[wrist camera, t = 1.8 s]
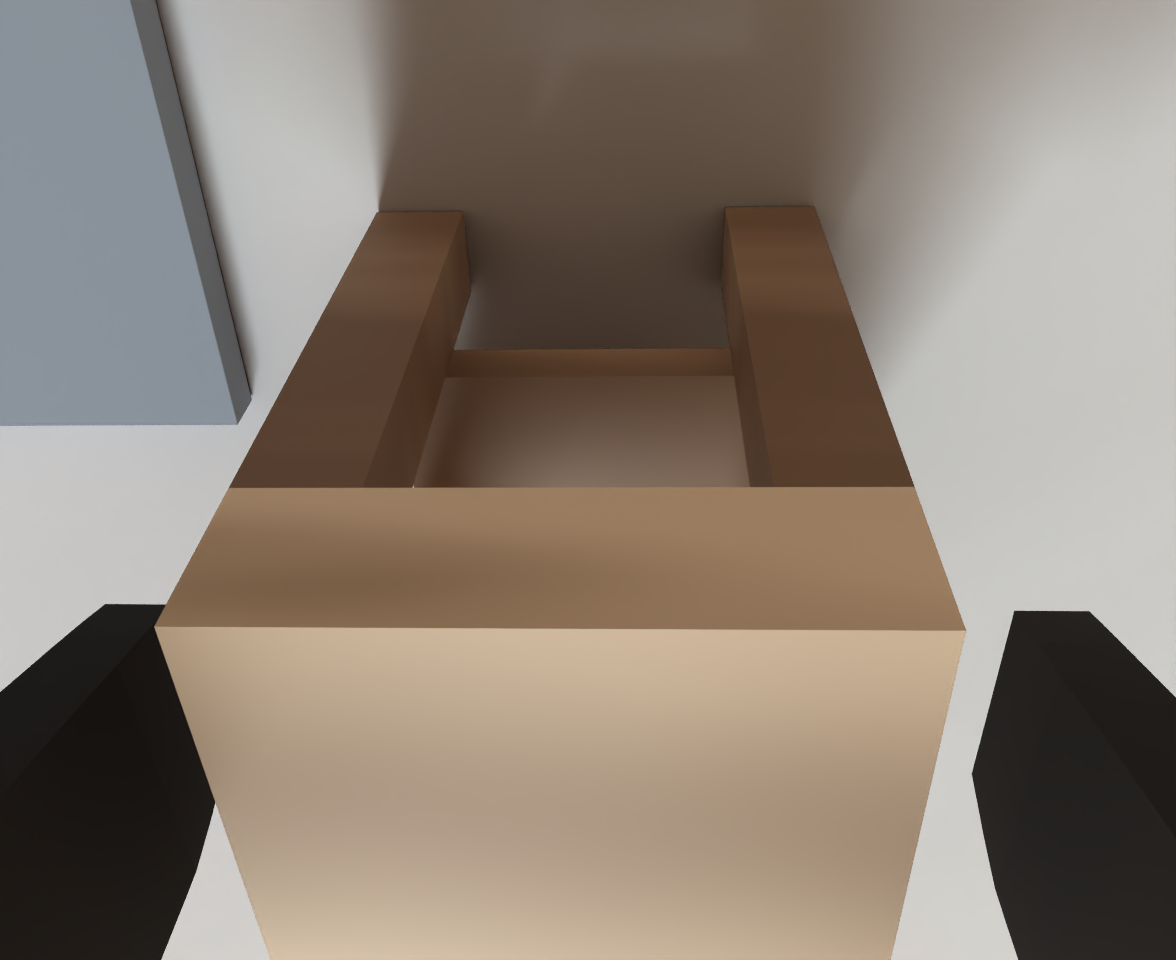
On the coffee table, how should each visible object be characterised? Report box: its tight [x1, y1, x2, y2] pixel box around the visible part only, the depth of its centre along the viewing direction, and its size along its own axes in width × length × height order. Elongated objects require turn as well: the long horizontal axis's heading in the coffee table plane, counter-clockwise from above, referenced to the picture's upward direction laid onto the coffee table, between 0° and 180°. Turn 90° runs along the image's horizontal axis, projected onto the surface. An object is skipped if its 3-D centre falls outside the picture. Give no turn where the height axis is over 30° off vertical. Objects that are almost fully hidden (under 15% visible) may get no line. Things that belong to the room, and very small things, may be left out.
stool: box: [154, 206, 966, 960], centre depth 11 cm, size 5×5×7 cm
